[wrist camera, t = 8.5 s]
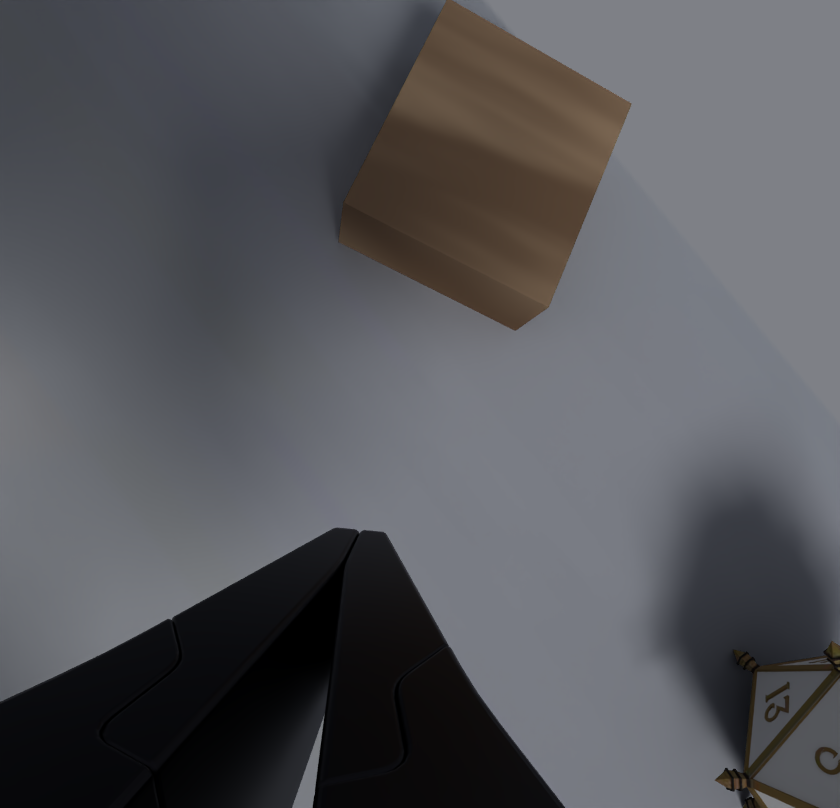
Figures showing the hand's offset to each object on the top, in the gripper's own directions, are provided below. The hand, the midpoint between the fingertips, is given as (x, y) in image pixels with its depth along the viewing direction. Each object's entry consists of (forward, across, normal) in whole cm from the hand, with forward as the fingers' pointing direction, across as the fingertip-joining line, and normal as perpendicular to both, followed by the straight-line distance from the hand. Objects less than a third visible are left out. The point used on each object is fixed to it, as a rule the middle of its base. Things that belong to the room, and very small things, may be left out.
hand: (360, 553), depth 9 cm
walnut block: (+12, +1, +2) cm, 12 cm away
